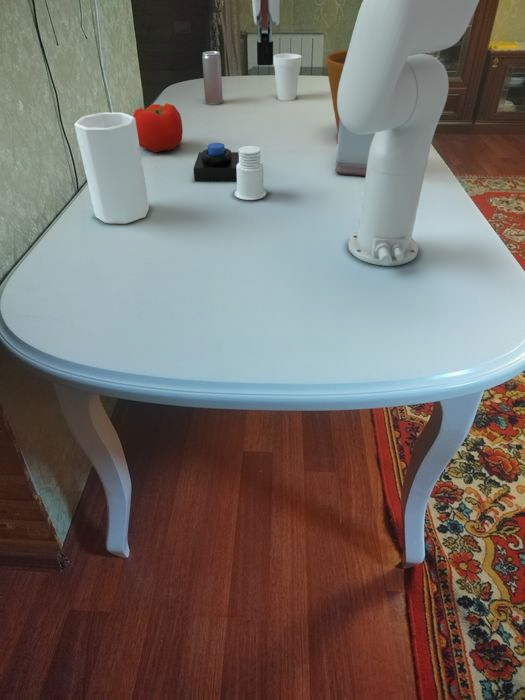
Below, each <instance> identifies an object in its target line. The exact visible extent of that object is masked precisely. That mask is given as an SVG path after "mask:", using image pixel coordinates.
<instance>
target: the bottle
mask: <svg viewBox="0 0 525 700" xmlns="http://www.w3.org/2000/svg"><path fill="white" fill-rule="evenodd" d="M338 126H339V132H338V131H337V137H336V145H337V147H336V158H335V160H336V161H335V163H336V166H335V172H336V173H337V174H339V175H345V176H358V177H359V176H360V177H366V170H367V162H368V156H369V150H370V146H371V143H372V140H373V138H374V135H375V133H372V134H364V135H362V134H355V133H353V132H351V131H349V130H348V129H346V128H345V126H344V125H343V124H342V122H341V120H340V117H339V114H338Z"/></svg>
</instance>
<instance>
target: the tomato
mask: <svg viewBox="0 0 525 700" xmlns="http://www.w3.org/2000/svg"><path fill="white" fill-rule="evenodd" d="M132 117H134V118H135V121H136V127H137V133H138V140H139V146H140V148H142V149H144V150H149V151H150V152H153V153H159V152H162V151H167V152H169V151H172V150H174V149H176V147H178V146H179V145H180V143H181V142H182V140H183V134H184V133H183V131H184V130H183V129H184V128H183V121H182V117H181V113H180V112H179V110H178V109H177V108H176V107H175V105H173V104H170V103H167V102H166V103H165V104H164V105H161V104H157V103H153V104H151V105H148V106H147V107H145V109H144V108H142V107H139V108H137V109H135V111H134V113H133V115H132Z"/></svg>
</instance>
